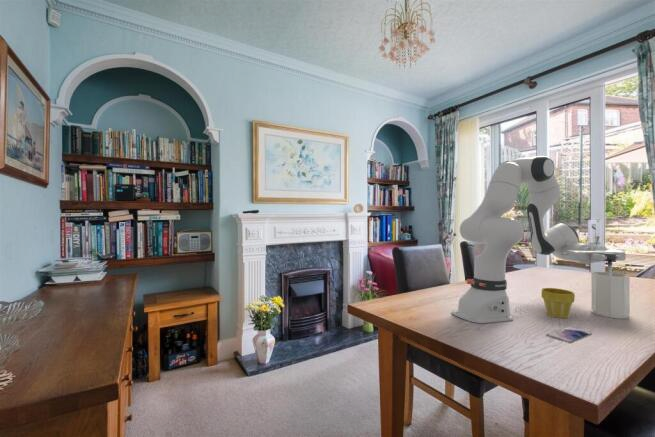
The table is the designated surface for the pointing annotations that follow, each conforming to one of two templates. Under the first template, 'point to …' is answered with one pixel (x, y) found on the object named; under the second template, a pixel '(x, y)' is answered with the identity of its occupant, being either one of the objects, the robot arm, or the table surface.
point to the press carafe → (610, 295)
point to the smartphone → (569, 334)
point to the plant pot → (557, 301)
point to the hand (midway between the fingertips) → (611, 257)
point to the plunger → (610, 262)
